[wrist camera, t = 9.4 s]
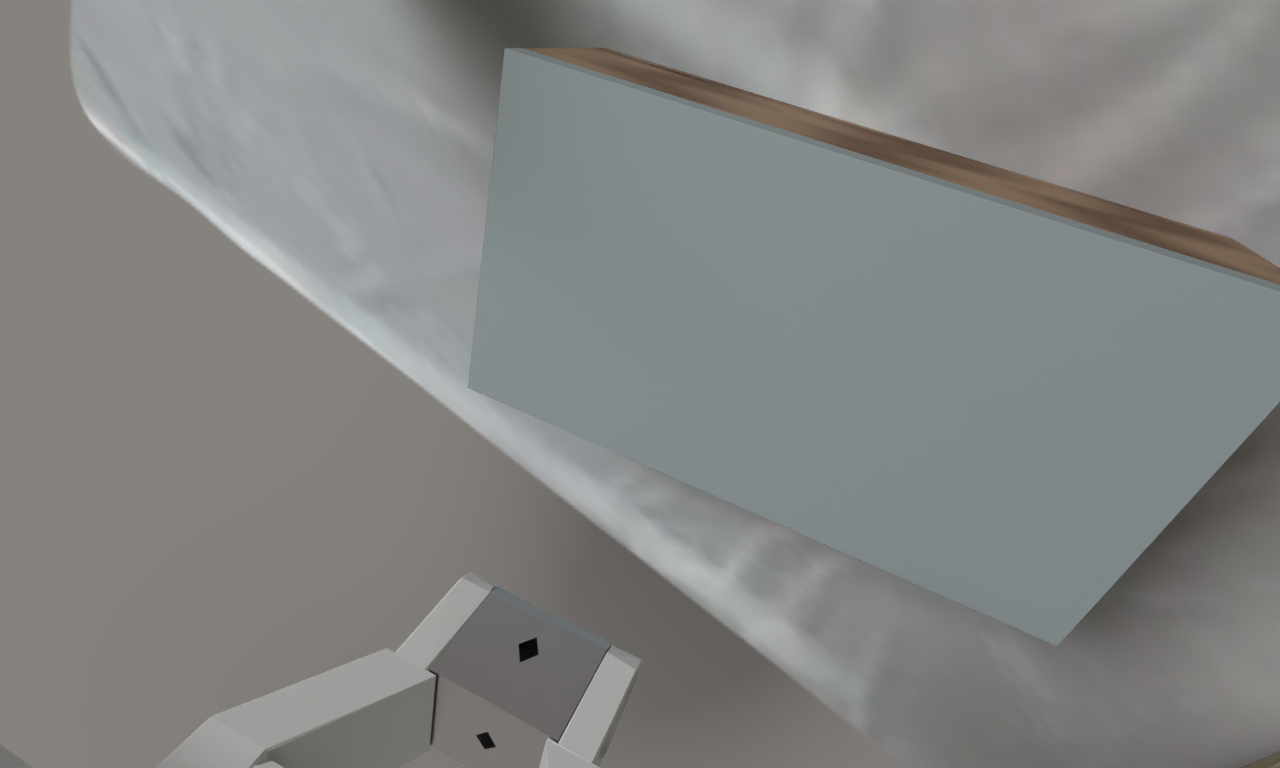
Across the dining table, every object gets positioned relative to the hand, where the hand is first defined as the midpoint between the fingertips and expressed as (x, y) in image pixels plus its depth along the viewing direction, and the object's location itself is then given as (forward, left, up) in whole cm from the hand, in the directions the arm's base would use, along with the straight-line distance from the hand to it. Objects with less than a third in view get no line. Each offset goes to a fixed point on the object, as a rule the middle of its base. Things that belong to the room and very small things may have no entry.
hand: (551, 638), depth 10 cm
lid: (-2, 0, -13) cm, 13 cm away
